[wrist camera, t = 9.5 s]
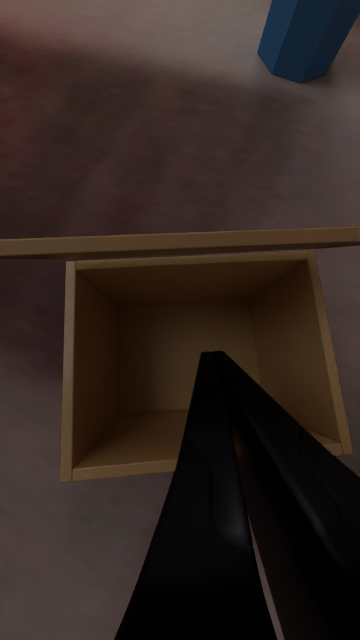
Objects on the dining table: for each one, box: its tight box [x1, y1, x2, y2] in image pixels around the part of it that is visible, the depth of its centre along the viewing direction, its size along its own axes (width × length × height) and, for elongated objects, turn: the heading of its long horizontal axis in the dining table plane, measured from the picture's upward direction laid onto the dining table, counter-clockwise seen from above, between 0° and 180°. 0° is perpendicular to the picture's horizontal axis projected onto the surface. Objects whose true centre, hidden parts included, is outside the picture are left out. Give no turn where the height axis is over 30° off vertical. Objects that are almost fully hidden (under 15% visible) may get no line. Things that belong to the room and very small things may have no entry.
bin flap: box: [0, 226, 360, 259], centre depth 8 cm, size 5×13×1 cm
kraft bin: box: [60, 251, 353, 483], centre depth 14 cm, size 10×13×9 cm
